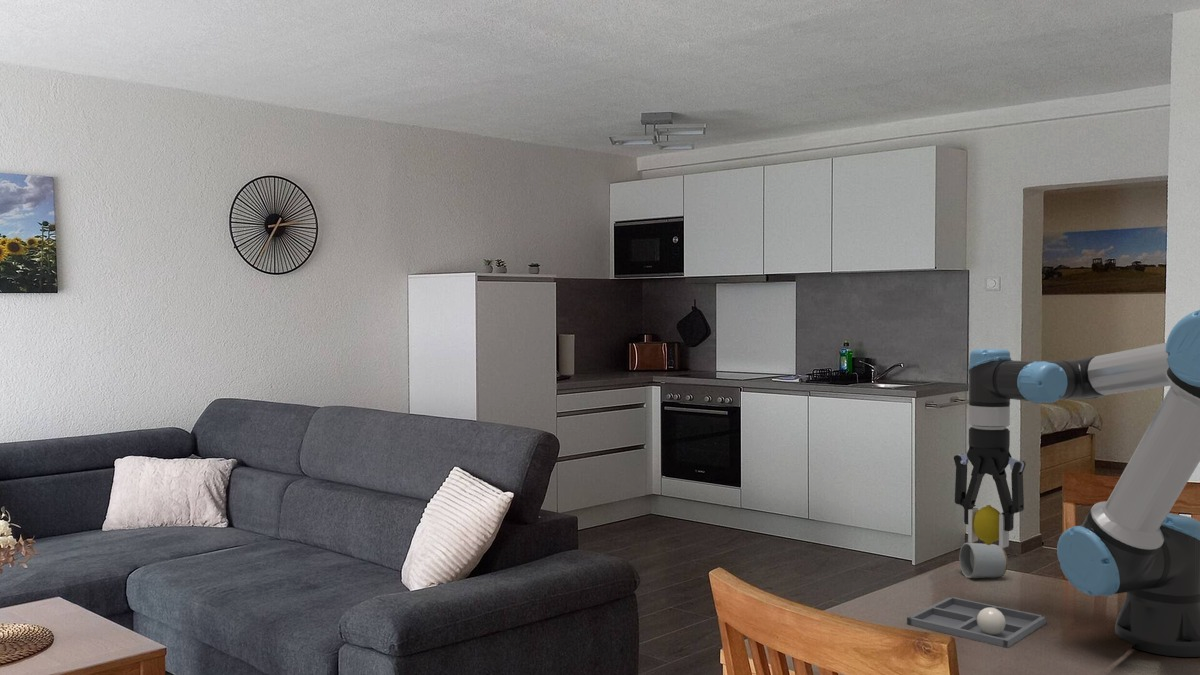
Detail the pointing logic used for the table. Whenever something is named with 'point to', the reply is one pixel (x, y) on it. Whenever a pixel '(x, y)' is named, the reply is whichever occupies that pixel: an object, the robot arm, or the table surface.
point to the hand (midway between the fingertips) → (988, 543)
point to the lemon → (987, 524)
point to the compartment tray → (975, 621)
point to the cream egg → (991, 621)
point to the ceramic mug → (982, 560)
